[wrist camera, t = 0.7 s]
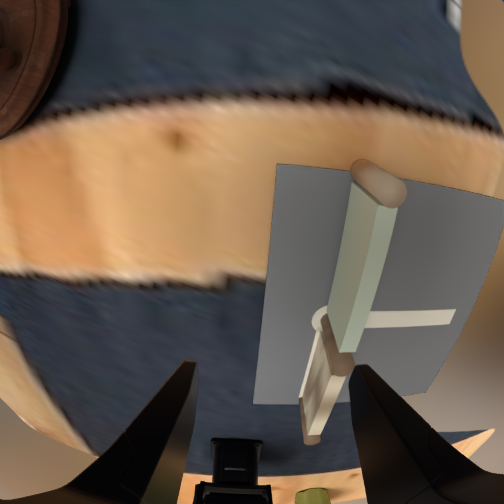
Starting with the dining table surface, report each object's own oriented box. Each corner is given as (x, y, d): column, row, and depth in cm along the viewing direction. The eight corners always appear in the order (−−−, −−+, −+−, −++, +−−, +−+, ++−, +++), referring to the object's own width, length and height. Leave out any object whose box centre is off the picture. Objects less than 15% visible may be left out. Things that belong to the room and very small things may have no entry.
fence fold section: (343, 310, 24) (359, 354, 19) (323, 310, 24) (337, 355, 19) (374, 161, 18) (409, 180, 14) (352, 157, 18) (382, 176, 14)
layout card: (425, 391, 31) (426, 392, 30) (253, 402, 30) (253, 404, 30) (509, 201, 20) (511, 202, 20) (277, 163, 19) (277, 164, 19)
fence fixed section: (312, 402, 30) (318, 446, 25) (297, 403, 30) (302, 447, 25) (340, 311, 24) (358, 361, 19) (322, 311, 24) (336, 361, 19)
